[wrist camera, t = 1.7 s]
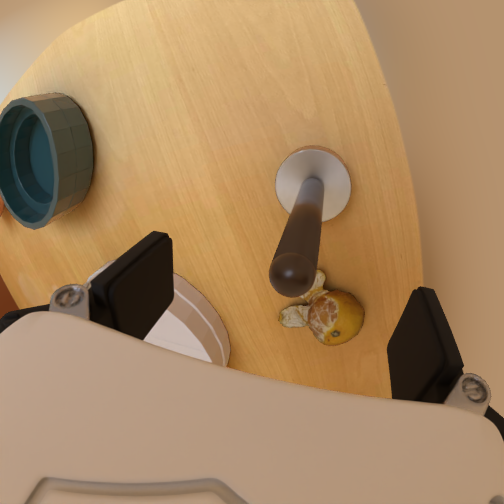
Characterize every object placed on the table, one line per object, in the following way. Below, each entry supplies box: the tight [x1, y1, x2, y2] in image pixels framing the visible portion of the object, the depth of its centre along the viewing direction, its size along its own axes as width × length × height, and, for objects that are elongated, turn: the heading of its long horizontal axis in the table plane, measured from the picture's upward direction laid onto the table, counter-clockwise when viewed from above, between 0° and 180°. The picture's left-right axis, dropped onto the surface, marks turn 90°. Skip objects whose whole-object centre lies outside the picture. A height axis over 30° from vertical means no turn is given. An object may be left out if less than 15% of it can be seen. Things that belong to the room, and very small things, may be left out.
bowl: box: [0, 93, 93, 230], centre depth 27 cm, size 16×16×6 cm
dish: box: [82, 260, 231, 367], centre depth 36 cm, size 22×22×5 cm
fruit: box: [278, 270, 365, 346], centre depth 28 cm, size 8×8×4 cm
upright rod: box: [269, 146, 351, 297], centre depth 18 cm, size 6×6×16 cm
